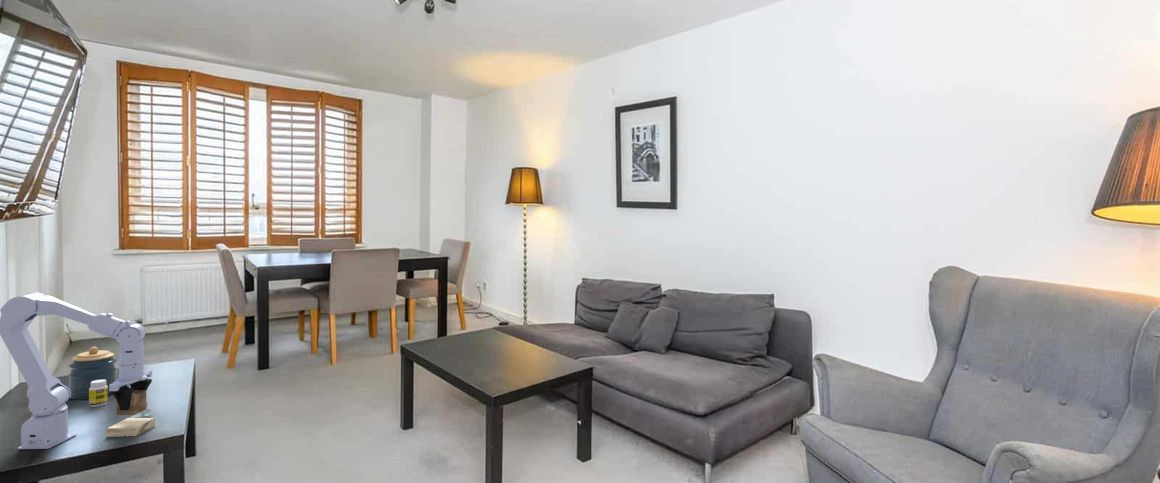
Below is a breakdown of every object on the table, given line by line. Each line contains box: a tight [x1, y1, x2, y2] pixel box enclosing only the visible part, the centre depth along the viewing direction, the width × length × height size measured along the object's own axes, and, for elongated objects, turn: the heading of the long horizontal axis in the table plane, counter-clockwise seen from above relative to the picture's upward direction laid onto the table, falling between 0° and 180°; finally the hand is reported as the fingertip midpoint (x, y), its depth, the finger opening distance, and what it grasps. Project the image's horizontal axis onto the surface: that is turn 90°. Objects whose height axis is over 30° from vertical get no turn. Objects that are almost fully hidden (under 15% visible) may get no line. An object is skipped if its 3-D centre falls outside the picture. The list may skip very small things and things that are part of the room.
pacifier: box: [129, 400, 153, 418], centre depth 167 cm, size 7×6×6 cm
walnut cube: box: [116, 390, 147, 416], centre depth 158 cm, size 5×5×6 cm
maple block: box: [106, 417, 156, 438], centre depth 159 cm, size 8×8×3 cm
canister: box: [68, 346, 118, 400], centre depth 188 cm, size 13×13×18 cm
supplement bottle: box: [88, 380, 108, 408], centre depth 179 cm, size 5×5×8 cm
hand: (131, 406), depth 158 cm, fingers closed on walnut cube, 5 cm apart
